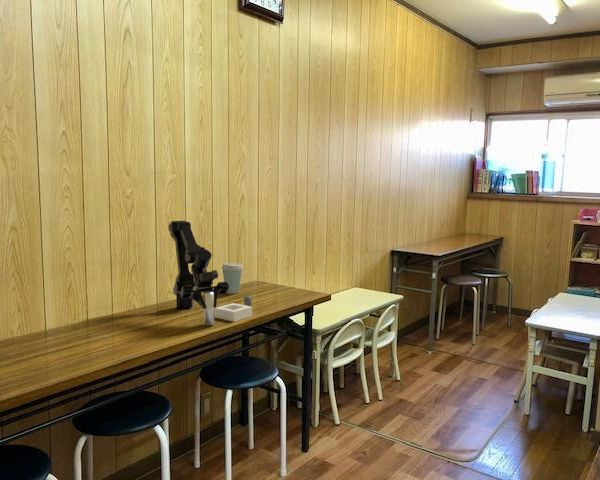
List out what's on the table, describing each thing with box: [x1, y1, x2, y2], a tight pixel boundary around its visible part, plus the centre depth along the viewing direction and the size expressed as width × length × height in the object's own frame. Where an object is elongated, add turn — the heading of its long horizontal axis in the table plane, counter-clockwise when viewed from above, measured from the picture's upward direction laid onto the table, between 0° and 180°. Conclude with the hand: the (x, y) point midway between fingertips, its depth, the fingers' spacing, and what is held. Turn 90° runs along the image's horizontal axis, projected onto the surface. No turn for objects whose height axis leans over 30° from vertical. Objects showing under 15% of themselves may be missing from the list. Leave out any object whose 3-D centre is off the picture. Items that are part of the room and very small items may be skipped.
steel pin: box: [203, 291, 215, 326], centre depth 207 cm, size 4×4×12 cm
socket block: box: [214, 302, 253, 322], centre depth 221 cm, size 11×11×4 cm
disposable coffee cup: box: [221, 262, 244, 295], centre depth 267 cm, size 11×11×15 cm
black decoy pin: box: [243, 295, 253, 308], centre depth 232 cm, size 3×3×6 cm
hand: (210, 307), depth 206 cm, fingers closed on steel pin, 4 cm apart
